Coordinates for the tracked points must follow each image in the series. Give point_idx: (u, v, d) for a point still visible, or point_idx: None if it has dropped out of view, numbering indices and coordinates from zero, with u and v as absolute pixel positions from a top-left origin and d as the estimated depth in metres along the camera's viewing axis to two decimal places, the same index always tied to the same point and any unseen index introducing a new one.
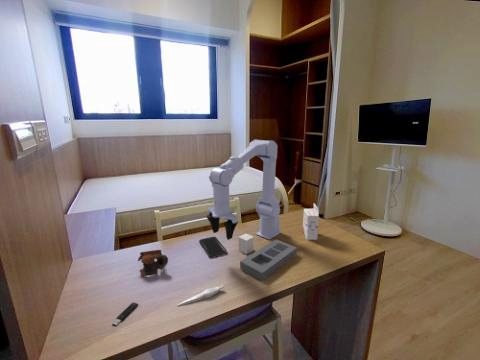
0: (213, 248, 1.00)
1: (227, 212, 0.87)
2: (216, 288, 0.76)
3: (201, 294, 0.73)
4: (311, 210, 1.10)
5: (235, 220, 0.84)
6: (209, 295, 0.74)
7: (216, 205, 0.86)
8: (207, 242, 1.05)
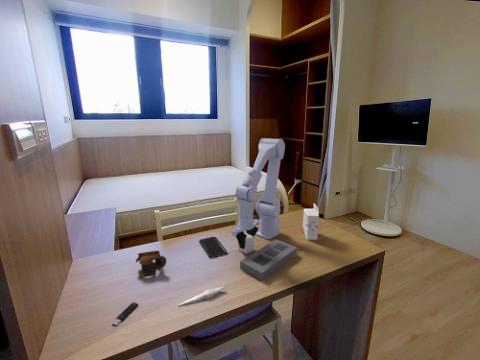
0: (213, 248, 1.00)
1: (241, 225, 0.95)
2: (216, 289, 0.75)
3: (201, 295, 0.73)
4: (311, 210, 1.10)
5: (233, 233, 0.93)
6: (209, 296, 0.73)
7: None
8: (207, 242, 1.05)
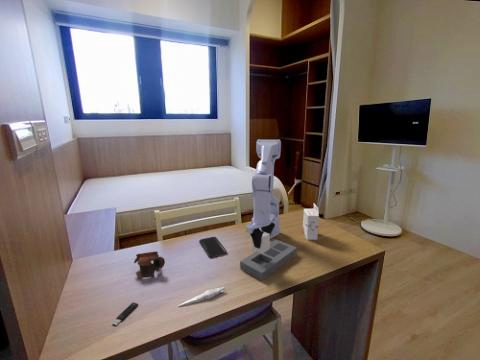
0: (213, 248, 1.00)
1: (257, 221, 0.82)
2: (217, 289, 0.75)
3: (202, 295, 0.73)
4: (311, 210, 1.10)
5: (248, 230, 0.79)
6: (210, 296, 0.73)
7: None
8: (207, 242, 1.05)
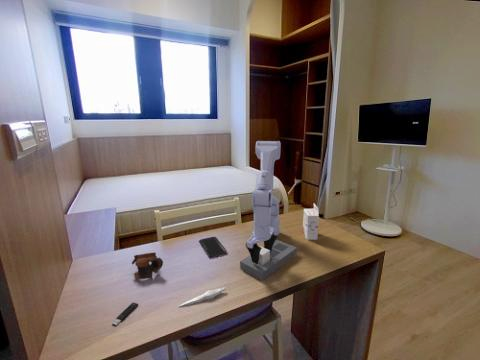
0: (213, 248, 1.00)
1: (257, 236, 0.83)
2: (217, 290, 0.75)
3: (202, 296, 0.73)
4: (311, 210, 1.10)
5: (248, 245, 0.80)
6: (210, 297, 0.73)
7: None
8: (207, 242, 1.05)
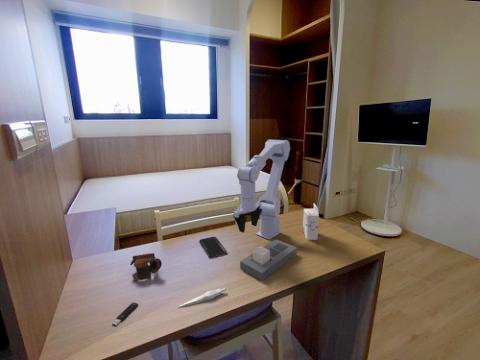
0: (213, 248, 1.00)
1: (243, 207, 0.94)
2: (218, 290, 0.75)
3: (202, 296, 0.73)
4: (311, 210, 1.10)
5: (235, 214, 0.91)
6: (210, 297, 0.73)
7: None
8: (207, 242, 1.05)
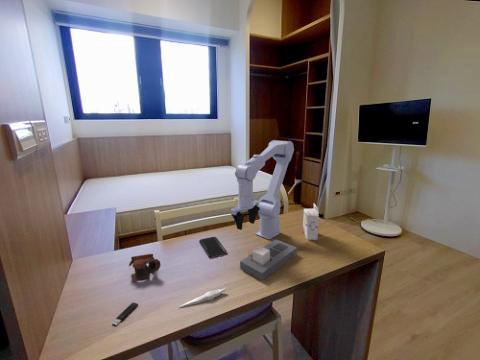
0: (213, 248, 1.00)
1: (241, 205, 0.96)
2: (218, 291, 0.75)
3: (202, 296, 0.72)
4: (311, 210, 1.10)
5: (233, 212, 0.93)
6: (211, 298, 0.73)
7: None
8: (207, 242, 1.05)
